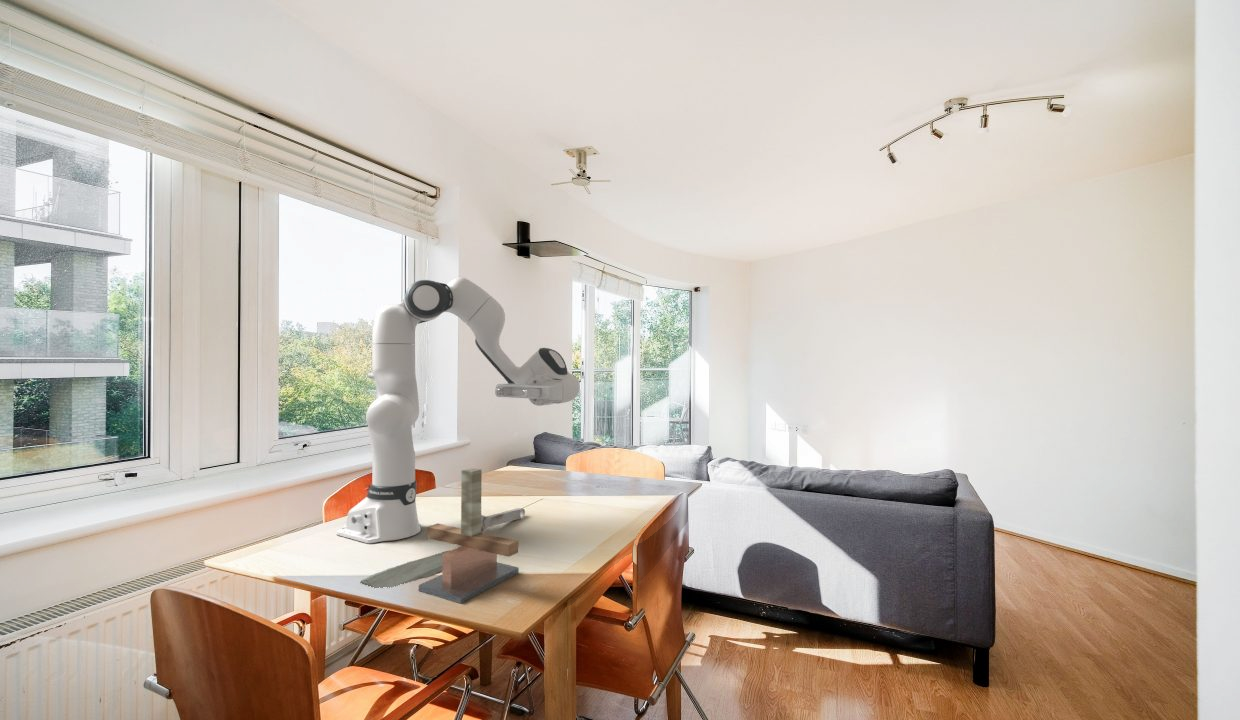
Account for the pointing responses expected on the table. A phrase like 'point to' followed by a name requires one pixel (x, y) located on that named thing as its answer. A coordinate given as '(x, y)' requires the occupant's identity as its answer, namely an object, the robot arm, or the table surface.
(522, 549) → the table surface
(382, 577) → the stone slab
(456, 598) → the stand
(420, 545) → the table surface
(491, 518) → the wrench
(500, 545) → the brown t-shaped piece
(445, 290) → the robot arm
